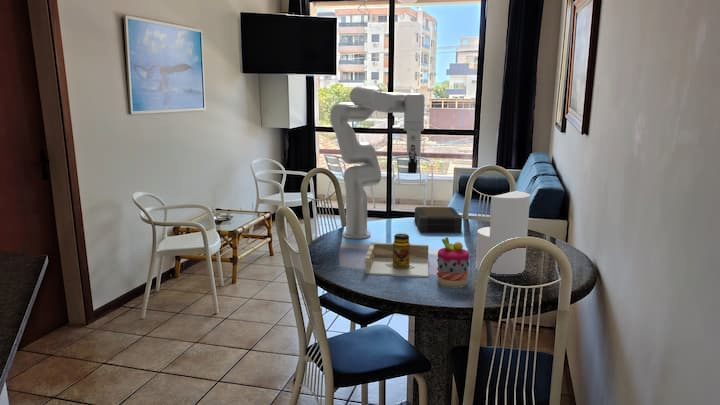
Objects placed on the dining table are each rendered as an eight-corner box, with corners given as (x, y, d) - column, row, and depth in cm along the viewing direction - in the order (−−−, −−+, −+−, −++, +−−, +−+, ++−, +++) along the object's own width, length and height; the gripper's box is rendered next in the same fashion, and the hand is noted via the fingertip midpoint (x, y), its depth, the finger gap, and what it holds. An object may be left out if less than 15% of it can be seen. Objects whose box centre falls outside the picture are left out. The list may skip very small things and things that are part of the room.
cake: (468, 278, 177) (470, 236, 174) (467, 289, 167) (469, 244, 164) (437, 276, 179) (439, 234, 176) (435, 286, 169) (436, 242, 166)
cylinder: (533, 269, 187) (539, 193, 182) (509, 280, 175) (514, 200, 170) (491, 259, 199) (495, 187, 194) (466, 269, 187) (470, 193, 182)
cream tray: (370, 257, 200) (371, 242, 199) (427, 260, 197) (428, 245, 196) (364, 274, 180) (365, 257, 179) (428, 277, 178) (428, 260, 177)
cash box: (463, 234, 238) (464, 217, 237) (419, 233, 238) (420, 217, 236) (453, 221, 263) (454, 206, 261) (414, 221, 262) (414, 206, 261)
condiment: (398, 271, 182) (399, 238, 180) (385, 264, 189) (385, 233, 187) (415, 267, 186) (415, 235, 184) (400, 261, 193) (401, 230, 191)
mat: (370, 257, 200) (371, 256, 200) (427, 260, 197) (427, 258, 197) (364, 274, 180) (364, 272, 180) (428, 277, 178) (428, 275, 178)
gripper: (423, 127, 186) (422, 174, 190) (423, 125, 203) (422, 168, 206) (402, 127, 187) (401, 174, 190) (404, 125, 204) (403, 168, 207)
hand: (412, 171), depth 198 cm, fingers open, 9 cm apart
